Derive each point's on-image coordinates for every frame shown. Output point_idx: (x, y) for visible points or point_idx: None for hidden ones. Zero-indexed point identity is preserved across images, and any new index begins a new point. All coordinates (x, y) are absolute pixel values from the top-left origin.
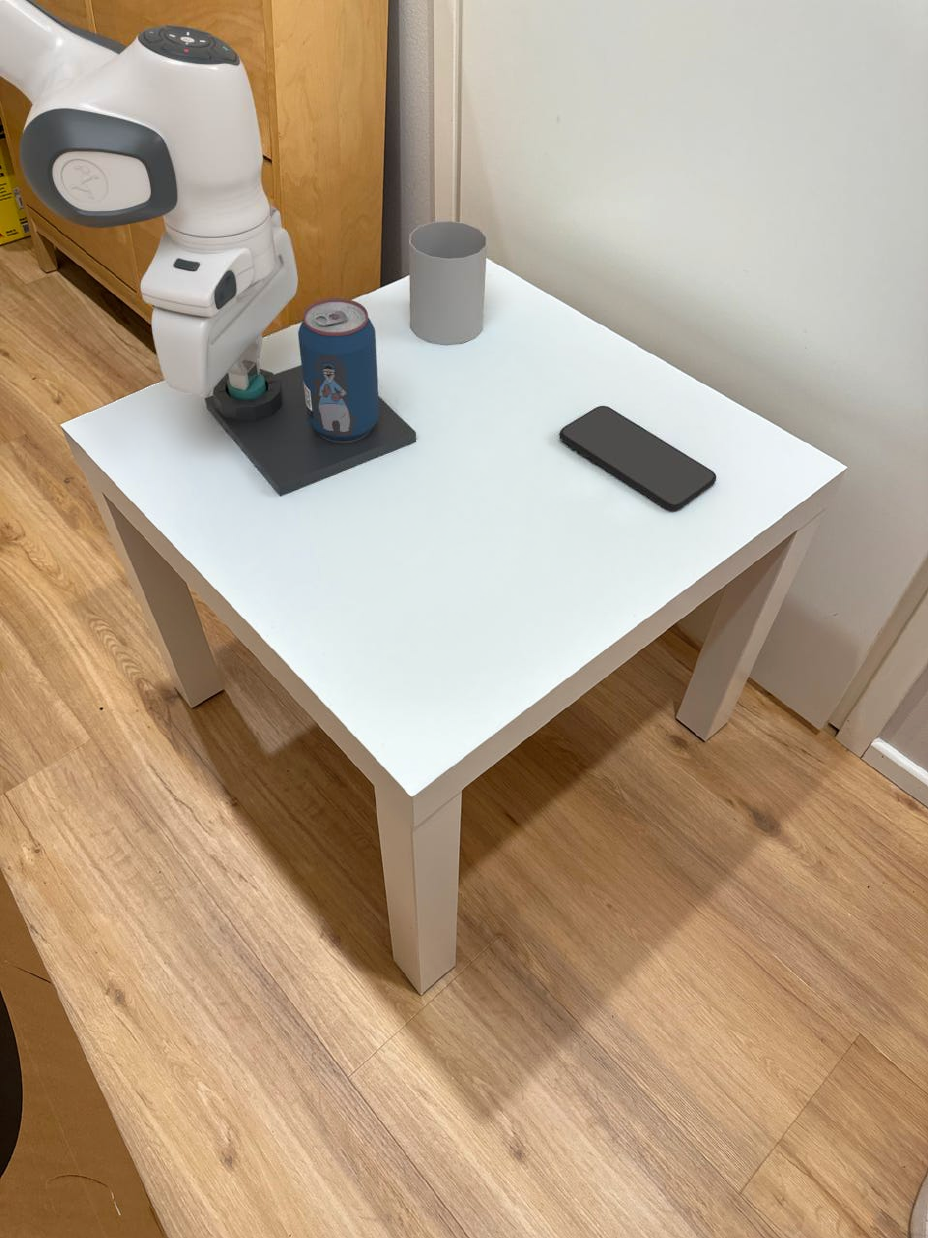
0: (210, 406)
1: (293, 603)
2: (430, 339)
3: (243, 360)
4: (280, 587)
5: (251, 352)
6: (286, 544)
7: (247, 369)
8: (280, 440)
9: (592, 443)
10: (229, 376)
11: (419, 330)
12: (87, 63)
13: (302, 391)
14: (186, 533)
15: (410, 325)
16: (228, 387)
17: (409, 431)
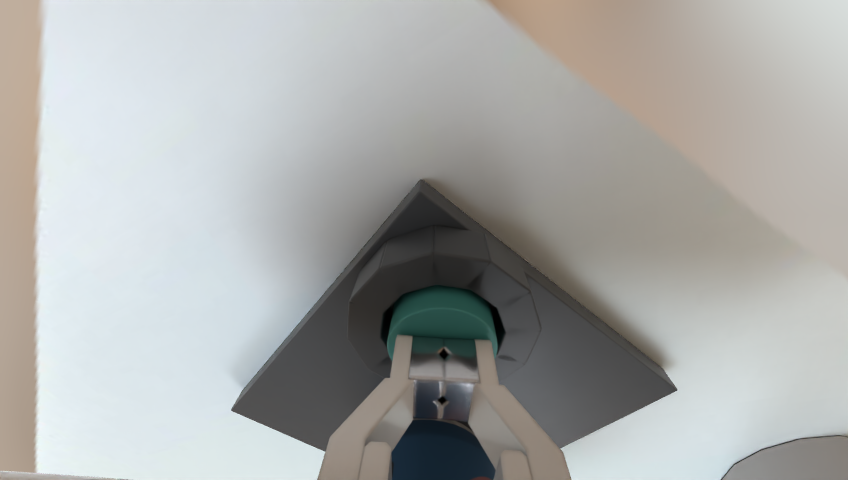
0: (395, 216)
1: (97, 442)
2: (737, 473)
3: (470, 394)
4: (103, 428)
5: (488, 439)
6: (167, 417)
7: (426, 413)
8: (341, 384)
9: None
10: (392, 362)
11: (767, 470)
12: None
13: (512, 376)
14: (64, 305)
15: (801, 446)
16: (403, 313)
17: None
